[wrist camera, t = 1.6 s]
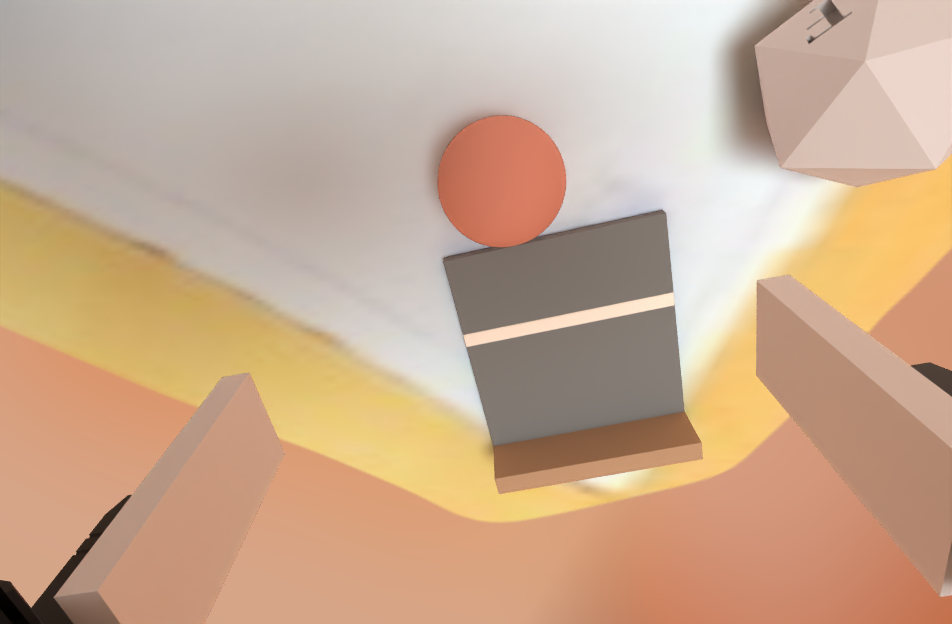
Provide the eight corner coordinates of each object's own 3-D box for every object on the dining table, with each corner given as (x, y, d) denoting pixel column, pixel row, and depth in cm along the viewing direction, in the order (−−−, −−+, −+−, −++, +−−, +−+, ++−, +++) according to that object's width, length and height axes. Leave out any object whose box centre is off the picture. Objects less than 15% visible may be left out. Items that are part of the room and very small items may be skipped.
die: (923, -55, 26) (931, -153, 18) (1042, 109, 24) (1107, 82, 17) (745, 77, 31) (690, 46, 23) (836, 217, 30) (811, 235, 22)
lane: (443, 257, 31) (439, 282, 28) (662, 210, 30) (684, 230, 27) (497, 454, 37) (498, 494, 34) (682, 421, 36) (702, 458, 33)
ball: (428, 124, 28) (416, 143, 23) (546, 95, 28) (562, 108, 22) (457, 237, 31) (452, 278, 26) (566, 212, 30) (585, 249, 25)
